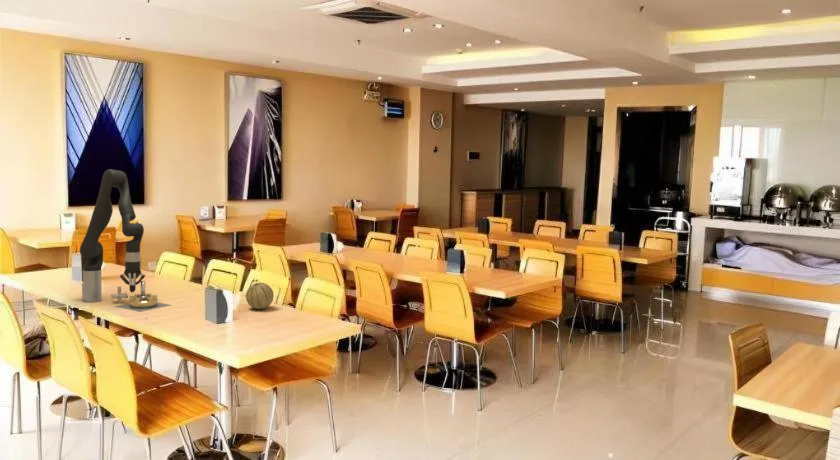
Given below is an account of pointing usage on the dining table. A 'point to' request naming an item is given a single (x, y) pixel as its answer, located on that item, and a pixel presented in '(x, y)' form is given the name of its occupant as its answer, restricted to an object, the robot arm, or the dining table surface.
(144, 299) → the brass lugged hub
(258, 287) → the cantaloupe
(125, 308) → the base plate
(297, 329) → the dining table surface
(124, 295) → the pipe connector
